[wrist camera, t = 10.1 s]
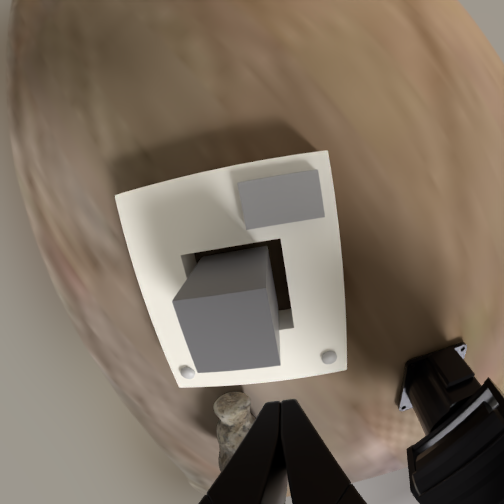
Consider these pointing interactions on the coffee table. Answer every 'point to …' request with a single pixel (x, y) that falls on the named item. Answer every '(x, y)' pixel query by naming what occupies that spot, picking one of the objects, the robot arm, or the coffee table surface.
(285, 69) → the coffee table surface
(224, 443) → the stone
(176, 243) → the socket plate
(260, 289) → the plug
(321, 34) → the coffee table surface
